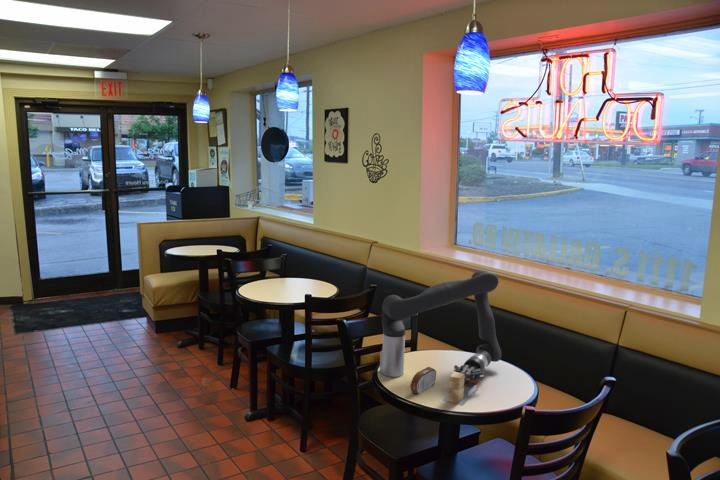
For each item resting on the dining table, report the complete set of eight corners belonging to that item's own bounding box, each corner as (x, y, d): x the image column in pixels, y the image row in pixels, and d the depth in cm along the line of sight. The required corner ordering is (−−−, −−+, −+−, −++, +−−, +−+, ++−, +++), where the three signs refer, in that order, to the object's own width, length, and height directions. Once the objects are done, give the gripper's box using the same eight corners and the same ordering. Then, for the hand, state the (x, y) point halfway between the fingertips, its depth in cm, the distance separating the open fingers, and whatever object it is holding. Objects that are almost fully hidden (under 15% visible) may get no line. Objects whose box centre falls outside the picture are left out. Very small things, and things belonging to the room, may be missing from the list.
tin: (430, 383, 222) (431, 363, 220) (437, 385, 220) (438, 365, 218) (409, 395, 210) (410, 374, 209) (416, 397, 208) (417, 377, 207)
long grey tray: (442, 401, 206) (442, 396, 205) (463, 380, 225) (463, 376, 225) (462, 406, 202) (463, 401, 201) (482, 385, 221) (482, 380, 221)
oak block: (448, 401, 205) (449, 375, 203) (453, 396, 209) (454, 371, 208) (458, 403, 203) (460, 378, 201) (463, 398, 207) (464, 373, 206)
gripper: (461, 352, 227) (445, 366, 212) (492, 359, 220) (478, 374, 205) (460, 370, 228) (444, 384, 213) (491, 377, 221) (476, 392, 207)
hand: (461, 379), depth 209 cm, fingers closed
